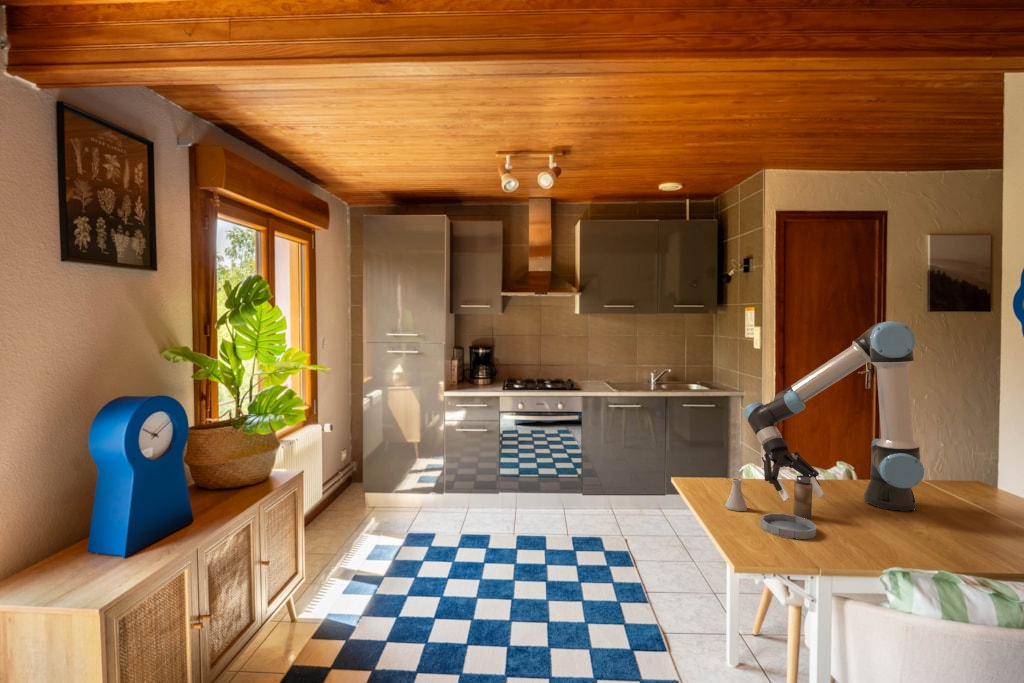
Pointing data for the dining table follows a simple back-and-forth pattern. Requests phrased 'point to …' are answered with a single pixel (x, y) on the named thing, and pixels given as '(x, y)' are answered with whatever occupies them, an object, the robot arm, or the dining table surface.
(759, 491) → the dining table surface
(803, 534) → the round grey tray
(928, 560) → the dining table surface
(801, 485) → the pepper mill
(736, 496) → the flask
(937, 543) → the dining table surface
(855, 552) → the dining table surface
